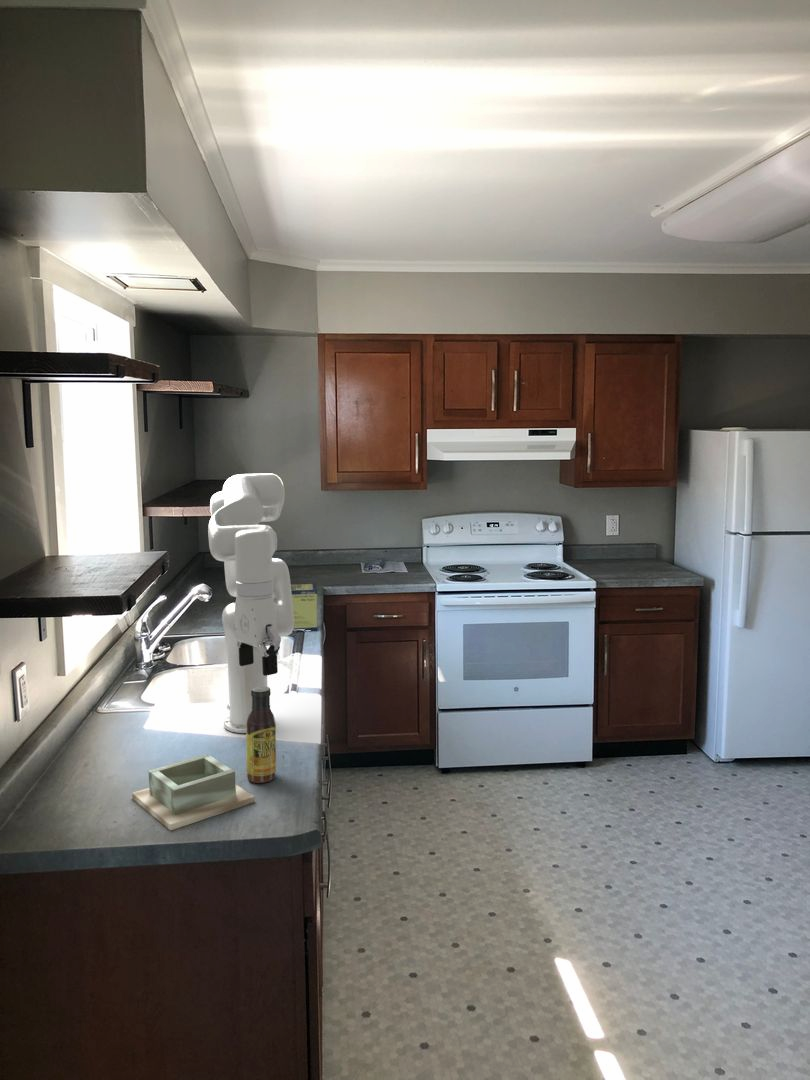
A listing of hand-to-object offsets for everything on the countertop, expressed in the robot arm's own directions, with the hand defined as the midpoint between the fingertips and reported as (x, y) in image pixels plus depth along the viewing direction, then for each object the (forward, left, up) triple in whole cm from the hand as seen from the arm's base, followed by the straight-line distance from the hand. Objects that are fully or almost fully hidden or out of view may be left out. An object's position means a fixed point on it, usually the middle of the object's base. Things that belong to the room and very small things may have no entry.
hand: (258, 669), depth 178 cm
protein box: (-106, +76, -25) cm, 132 cm away
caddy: (0, -16, -24) cm, 29 cm away
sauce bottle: (0, 0, -24) cm, 24 cm away
